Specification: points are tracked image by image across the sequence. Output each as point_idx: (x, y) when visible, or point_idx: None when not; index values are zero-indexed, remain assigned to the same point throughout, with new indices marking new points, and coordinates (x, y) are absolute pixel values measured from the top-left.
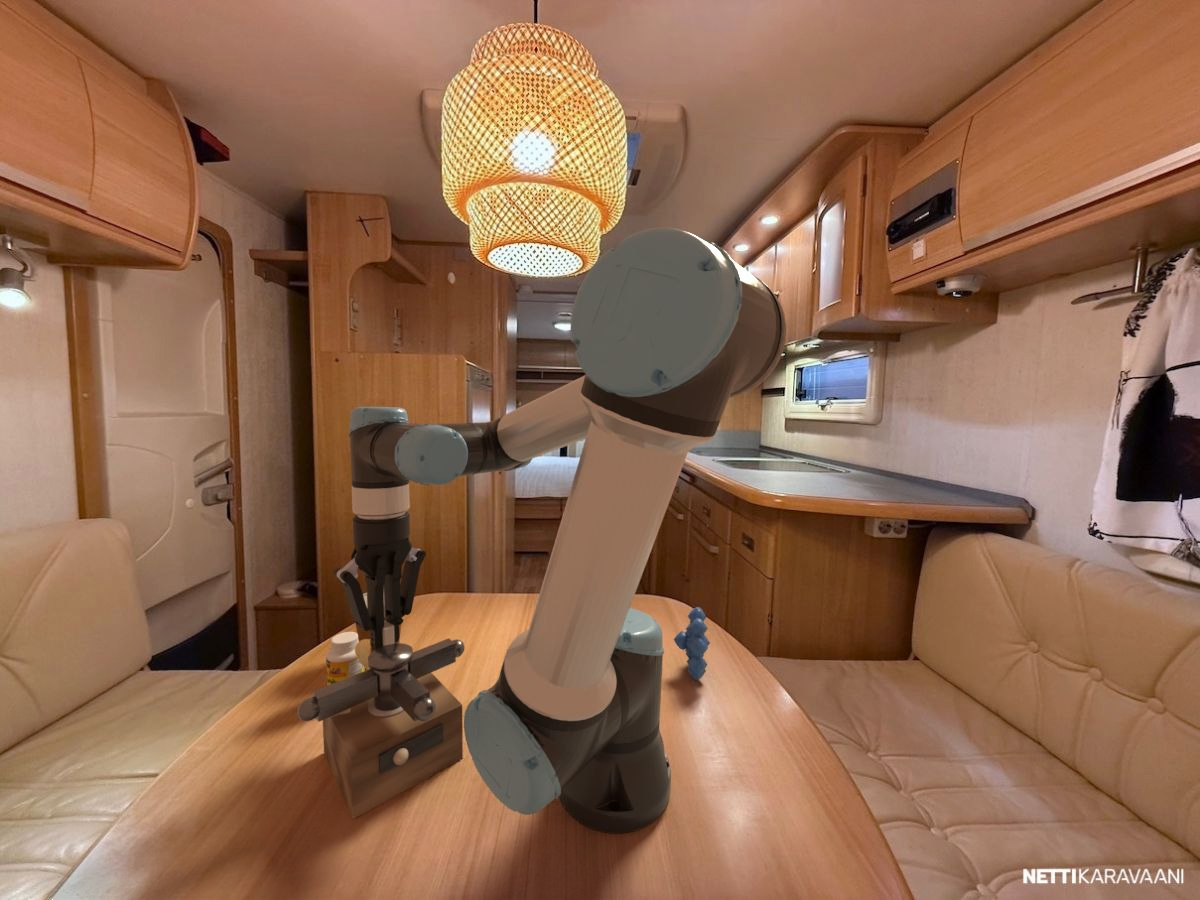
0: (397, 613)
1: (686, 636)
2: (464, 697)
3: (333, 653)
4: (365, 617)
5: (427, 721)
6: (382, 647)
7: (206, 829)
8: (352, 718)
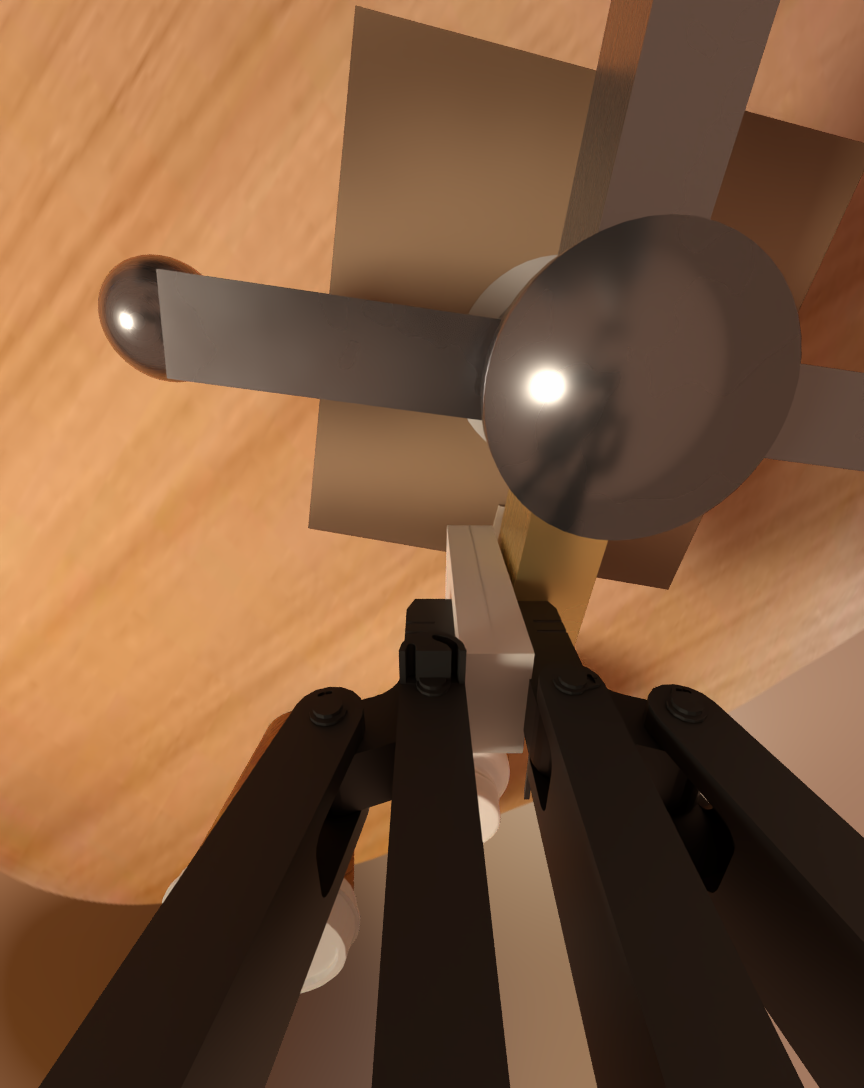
0: (428, 722)
1: None
2: (216, 405)
3: (494, 781)
4: (760, 784)
5: (549, 60)
6: (608, 525)
7: (853, 486)
8: None
